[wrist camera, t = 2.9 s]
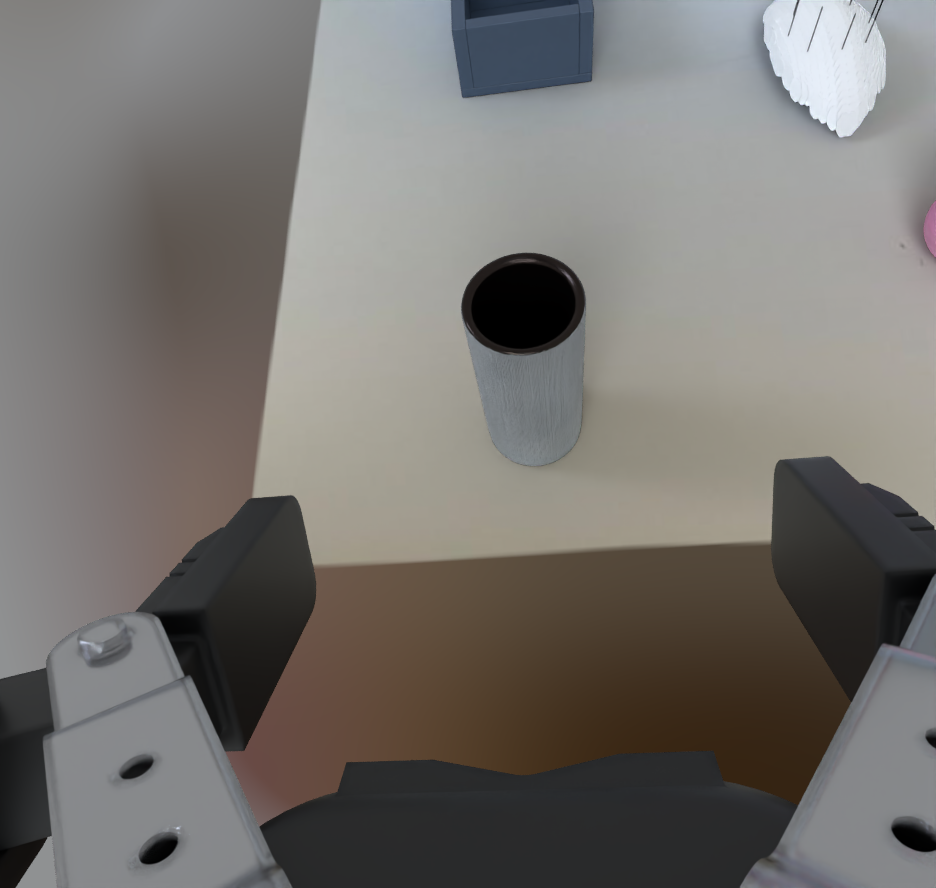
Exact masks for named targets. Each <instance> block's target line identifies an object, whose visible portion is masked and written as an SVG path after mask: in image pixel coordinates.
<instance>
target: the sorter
mask: <svg viewBox="0 0 936 888" xmlns="http://www.w3.org/2000/svg"><path fill="white" fill-rule="evenodd" d="M451 16H452V35H453V41H454V47H455V53H456V60H457V66H458V72H459V79H460V85H461V91H462V97H463V98H464V97H472V96H479V95H487V94H495V93H503V92H510V91H518V90H526V89H533V88H541V87H549V86H557V85H564V84H572V83H580V82H587V81H591V80H592V54H593V24H594V8H593V2H592V0H451Z"/></svg>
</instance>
